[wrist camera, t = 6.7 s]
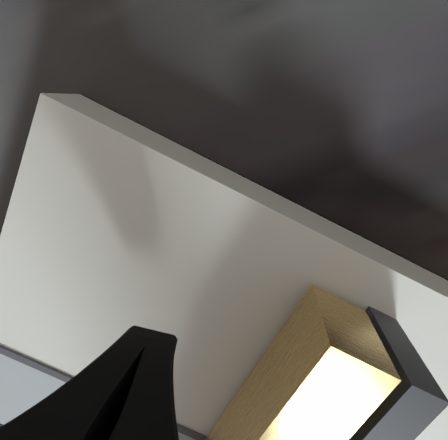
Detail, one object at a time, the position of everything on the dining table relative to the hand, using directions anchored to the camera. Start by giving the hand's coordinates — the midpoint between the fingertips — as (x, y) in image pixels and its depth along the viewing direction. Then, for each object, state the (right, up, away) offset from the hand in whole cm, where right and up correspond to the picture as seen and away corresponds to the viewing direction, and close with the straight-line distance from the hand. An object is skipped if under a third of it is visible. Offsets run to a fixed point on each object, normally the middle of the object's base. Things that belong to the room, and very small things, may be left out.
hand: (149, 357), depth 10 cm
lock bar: (+3, -3, +3) cm, 6 cm away
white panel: (+3, -2, +6) cm, 6 cm away
